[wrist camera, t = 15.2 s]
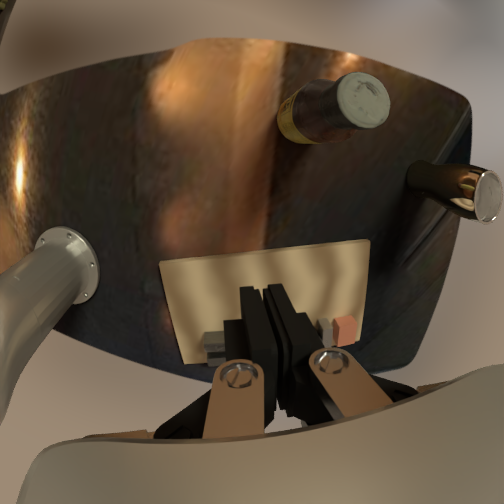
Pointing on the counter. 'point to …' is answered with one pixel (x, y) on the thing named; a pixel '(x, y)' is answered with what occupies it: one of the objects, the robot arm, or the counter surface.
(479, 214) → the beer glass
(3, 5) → the cookie cutter
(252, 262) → the board
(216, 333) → the tong jaw
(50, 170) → the counter surface
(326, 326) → the base
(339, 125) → the sauce bottle
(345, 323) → the tab
